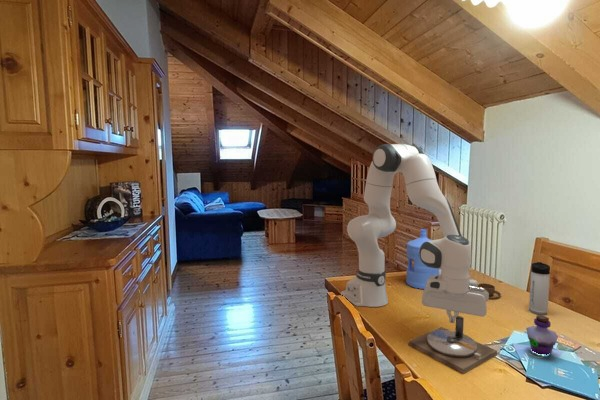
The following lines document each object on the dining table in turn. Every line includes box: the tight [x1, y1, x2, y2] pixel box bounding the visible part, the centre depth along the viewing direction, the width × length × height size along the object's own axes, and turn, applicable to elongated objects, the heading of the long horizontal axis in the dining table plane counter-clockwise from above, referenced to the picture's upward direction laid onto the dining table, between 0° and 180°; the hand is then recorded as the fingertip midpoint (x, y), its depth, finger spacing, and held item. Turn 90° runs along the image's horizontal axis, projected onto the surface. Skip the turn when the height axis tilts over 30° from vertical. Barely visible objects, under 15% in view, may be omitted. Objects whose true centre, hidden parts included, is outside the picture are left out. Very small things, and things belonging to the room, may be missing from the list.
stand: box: [408, 326, 498, 375], centre depth 117 cm, size 20×18×3 cm
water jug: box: [405, 228, 440, 290], centre depth 178 cm, size 16×16×28 cm
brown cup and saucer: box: [477, 282, 502, 301], centre depth 164 cm, size 18×20×6 cm
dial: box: [427, 315, 477, 357], centre depth 116 cm, size 15×15×7 cm
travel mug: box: [528, 261, 551, 316], centre depth 144 cm, size 6×7×20 cm
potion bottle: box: [525, 314, 559, 355], centre depth 114 cm, size 9×9×12 cm
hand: (452, 322), depth 122 cm, fingers closed
